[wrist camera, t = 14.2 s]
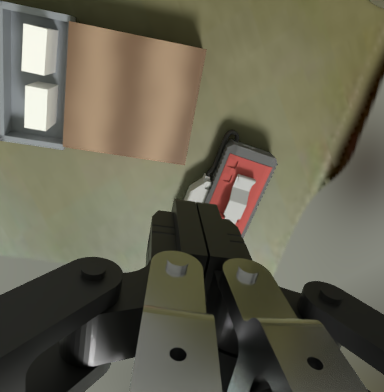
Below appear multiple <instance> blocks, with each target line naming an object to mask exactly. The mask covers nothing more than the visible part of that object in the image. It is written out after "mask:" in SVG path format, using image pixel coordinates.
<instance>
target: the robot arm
mask: <svg viewBox="0 0 384 392" xmlns="http://www.w3.org/2000/svg"><path fill="white" fill-rule="evenodd" d="M369 1H370V2H372V3H373V4H374V5H376V6H378V7H380V8H384V0H369ZM341 346H344V347H345V348H347V349H348V350H349V351H351V352H352V353H354V354H355V355H357V356H358V357H360V358H361V359H362V360H364V361H365V362H367V363H368V364H369V365H371V366H372V367H374V368H375V369H377V370H378V371H380V372H381V373H382V374H384V315H383V314H382V313H380V312H378V311H377V310H375V309H373V308H372V307H370V306H368V305H367V304H365V303H363V302H362V301H360V300H358V299H357V298H355V297H353V296H352V295H350V294H348V293H346V292H345V291H343V290H342V289H340V288H338V287H336V286H334V285H331V284H328V283H324V282H320V281H312V282H308V283H306V284H305V285H304V287H303V290H302V293H298V292H294V291H291V290H288V289H285V288H281V287H279V286H278V285H277V283H276V281H275V280H274V278H273V276H272V275H271V273H270V272H269V271H268V270H267V269H266V268H265V267H264V266H262V265H261V264H259V263H257V262H254V261H252V258H251V256H250V254H249V251H248V249H247V247H246V245H245V244H244V240H243V238H242V237H241V233H240V231H239V229H238V227H237V226H236V225H235V224H234V223H233V222H231V221H230V220H229V219H222V218H221V215H220V212H219V210H218V207H217V205H216V204H209V203H201V202H196V203H195V202H194V201H186V200H179V199H174V202H173V207H172V212H167V211H157V212H156V213H155V214H154V215H153V216H152V222H151V228H150V234H149V240H148V247H147V253H146V267H144V268H142V269H140V270H138V271H134V272H129V273H123V272H122V270H121V268H120V267H119V266H118V265H117V264H116V263H114V262H112V261H110V260H108V259H104V258H99V257H85V258H80V259H77V260H74V261H72V262H70V263H68V264H66V265H63V266H61V267H59V268H57V269H55V270H53V271H51V272H49V273H46V274H44V275H42V276H40V277H38V278H36V279H34V280H32V281H29V282H27V283H25V284H23V285H21V286H19V287H17V288H14V289H12V290H10V291H8V292H6V293H4V294H2V295H0V392H85V391H86V390H87V389H88V388H89V387H90V386H92V385H93V384H94V383H95V382H96V381H97V380H98V379H99V378H101V377H102V376H103V375H104V374H105V373H106V372H107V370H108V369H109V367H110V365H111V362H115V361H120V360H124V359H129V358H133V357H135V360H134V366H133V372H132V378H131V384H130V390H129V392H370V391H369V390H368V389H366V387H365V386H364V384H363V383H362V381H361V380H360V378H359V377H358V375H357V374H356V372H355V371H354V370H353V368H352V367H351V365H350V364H349V362H348V361H347V359H346V358H345V356H344V355H343V353H342V352H341V351H340V347H341Z"/></svg>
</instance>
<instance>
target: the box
mask: <svg viewBox="0 0 384 392" xmlns="http://www.w3.org/2000/svg"><path fill="white" fill-rule="evenodd" d="M69 21H71V22H76V17H74V16H71V15H66V14H61V13H57V12H52V11H47V10H42V9H38V8H33V7H28V6H23V5H18V4H14V3H9V2H4V1H0V141H7V142H13V143H20V144H27V145H33V146H40V147H47V148H53V149H60V150H64V149H65V148H66V147H63V127H64V107H65V87H66V68H67V48H68V28H69ZM23 23H24V24H31V25H38V26H42V27H46V28H50V29H54V30H59V31H58V44H57V58H56V71H55V73H52V74H48V75H45V76H43V75H39V74H34V73H29V72H25V71H21V67H22V44H23ZM37 81H40V82H45V83H50V84H56V85H58V100H57V118H56V123H55V124H54V125H53V126H52V127H50V128H49V129H48V130H47V131H41V130H35V129H29V128H24V117H25V85H28V84H31V83H34V82H37Z"/></svg>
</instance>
